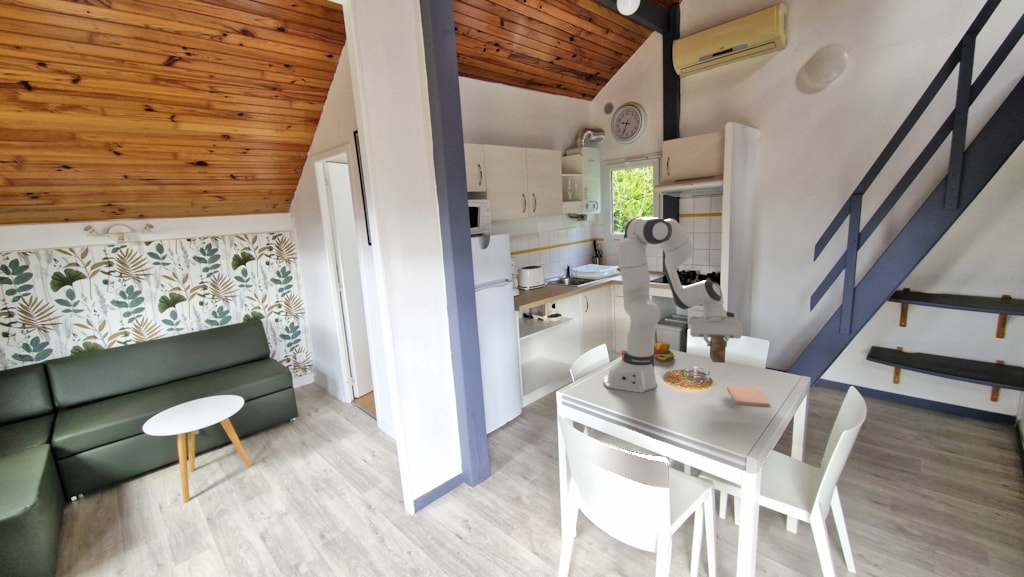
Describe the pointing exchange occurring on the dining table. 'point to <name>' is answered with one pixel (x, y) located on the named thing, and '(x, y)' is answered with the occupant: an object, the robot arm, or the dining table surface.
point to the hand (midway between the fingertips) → (717, 346)
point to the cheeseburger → (663, 351)
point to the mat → (747, 395)
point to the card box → (717, 349)
